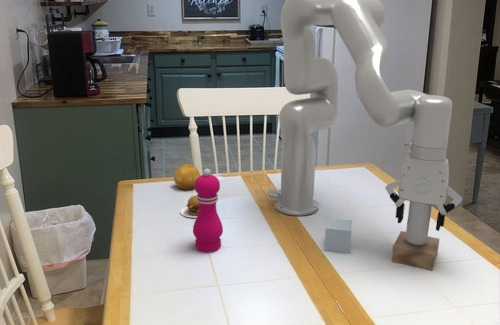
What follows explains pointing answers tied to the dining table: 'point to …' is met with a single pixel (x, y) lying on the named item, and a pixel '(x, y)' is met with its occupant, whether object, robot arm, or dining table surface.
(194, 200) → the hamburger
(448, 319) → the dining table surface
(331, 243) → the grey-blue block
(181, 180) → the fruit
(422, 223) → the beverage can
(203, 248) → the pepper mill
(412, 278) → the dining table surface
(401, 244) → the walnut block
